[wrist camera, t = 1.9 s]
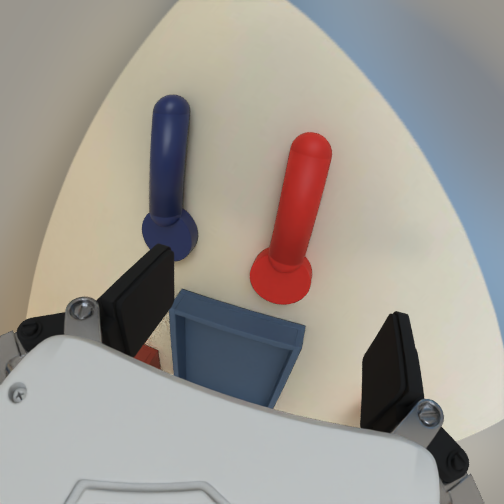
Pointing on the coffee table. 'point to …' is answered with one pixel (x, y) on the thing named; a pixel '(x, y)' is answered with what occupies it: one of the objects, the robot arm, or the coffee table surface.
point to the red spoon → (294, 223)
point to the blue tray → (232, 348)
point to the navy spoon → (169, 179)
